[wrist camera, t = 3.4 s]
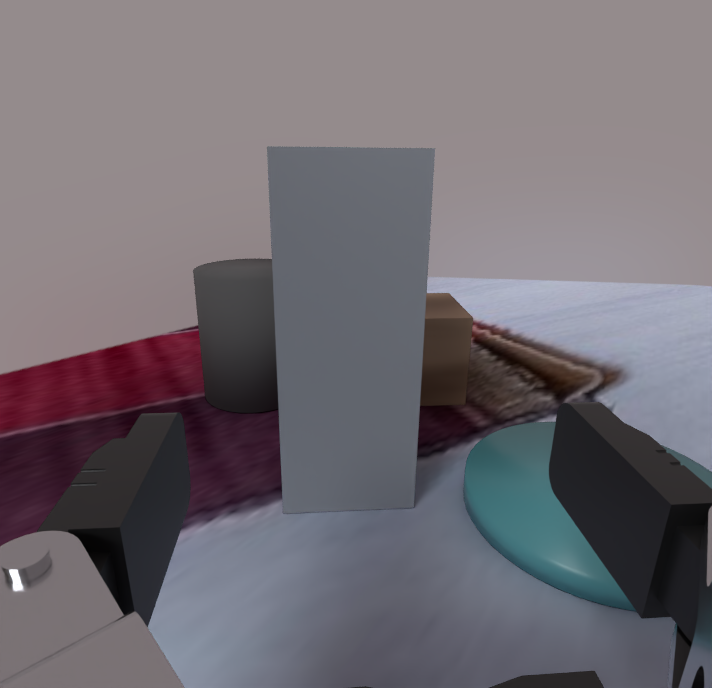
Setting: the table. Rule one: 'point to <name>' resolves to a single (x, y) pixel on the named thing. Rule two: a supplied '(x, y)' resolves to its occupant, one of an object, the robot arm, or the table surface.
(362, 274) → the slate block
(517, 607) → the table surface
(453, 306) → the walnut cube
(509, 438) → the teal pad
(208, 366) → the rubber cylinder
